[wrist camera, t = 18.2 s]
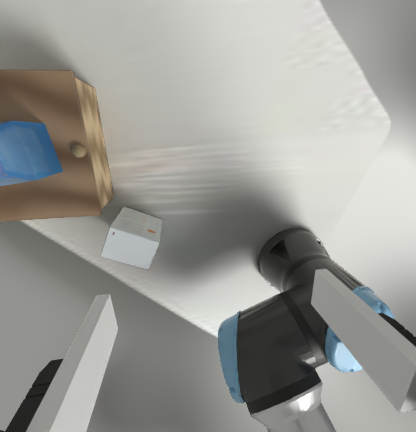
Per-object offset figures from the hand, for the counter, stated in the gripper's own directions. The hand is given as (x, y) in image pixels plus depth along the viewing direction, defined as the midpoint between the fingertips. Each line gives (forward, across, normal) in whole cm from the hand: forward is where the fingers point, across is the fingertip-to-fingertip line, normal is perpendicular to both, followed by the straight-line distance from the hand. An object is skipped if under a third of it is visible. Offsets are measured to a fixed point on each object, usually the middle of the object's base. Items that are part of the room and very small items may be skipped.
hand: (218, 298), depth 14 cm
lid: (+23, -21, +9) cm, 32 cm away
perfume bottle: (+22, -21, +9) cm, 32 cm away
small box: (+32, -11, -6) cm, 34 cm away
